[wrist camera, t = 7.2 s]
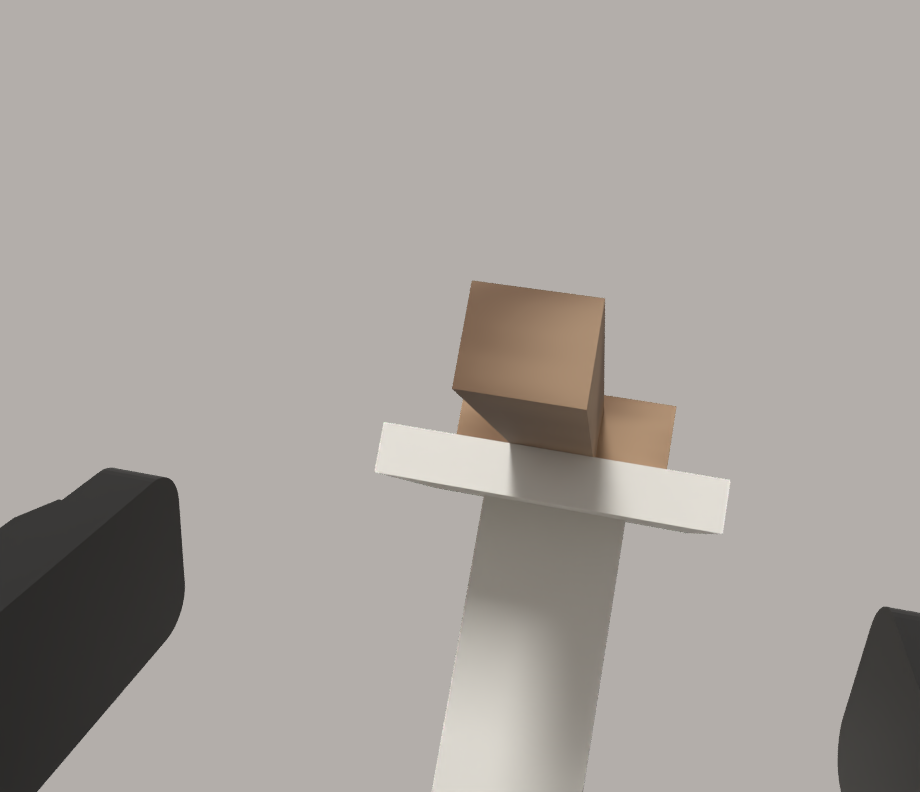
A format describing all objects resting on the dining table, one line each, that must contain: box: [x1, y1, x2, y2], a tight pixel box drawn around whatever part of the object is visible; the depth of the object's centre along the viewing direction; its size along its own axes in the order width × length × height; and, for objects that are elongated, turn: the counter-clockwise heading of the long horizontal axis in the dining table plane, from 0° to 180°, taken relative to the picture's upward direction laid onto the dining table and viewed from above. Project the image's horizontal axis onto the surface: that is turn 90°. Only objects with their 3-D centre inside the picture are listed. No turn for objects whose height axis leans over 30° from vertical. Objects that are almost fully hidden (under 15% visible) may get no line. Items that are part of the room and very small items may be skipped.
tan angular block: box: [452, 281, 676, 469], centre depth 25 cm, size 7×20×2 cm, turn 171°
